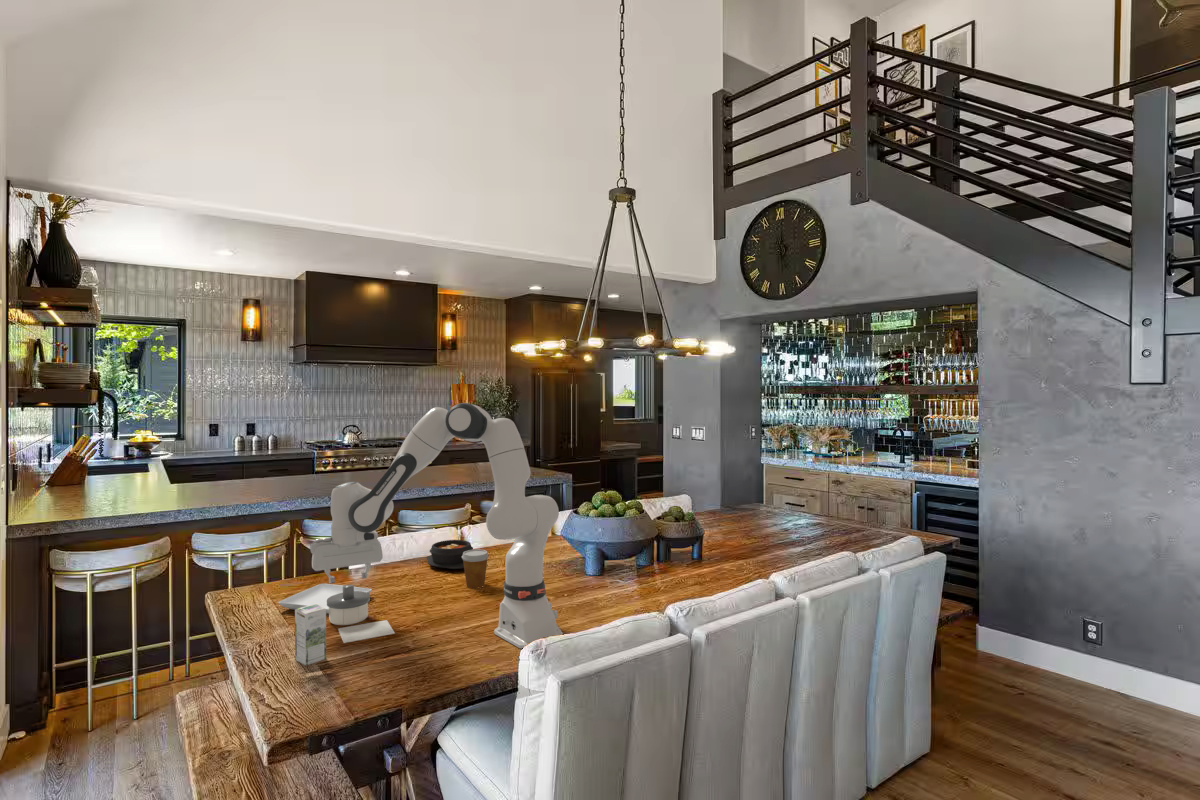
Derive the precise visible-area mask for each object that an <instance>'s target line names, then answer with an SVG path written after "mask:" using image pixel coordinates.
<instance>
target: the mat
mask: <svg viewBox="0 0 1200 800" xmlns="http://www.w3.org/2000/svg"><path fill="white" fill-rule="evenodd" d="M337 630H338V633H339V636H340V638H341V640H342V642H343V644H346V643H351V642H357V641H362V640H368V639H373V638H378V637H383V636H390V635H394V634H396V633H395V631H394V629H393V628H392V626H391V624H390V622H389V621H388V620H387V619H386V620H379V621H373V622H367V623H362V624H356V625H351V626H350V625H349V626H345V627H339V628H337Z"/></svg>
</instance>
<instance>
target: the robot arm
mask: <svg viewBox="0 0 1200 800" xmlns="http://www.w3.org/2000/svg"><path fill="white" fill-rule="evenodd" d="M453 438H457V439H462V440H463V441H465V442H473V443H481V442H482V443H483V444H484V447H485V450H486V452H487V457H488V461H489V464H490V468H491V472H492V477H493V481H494V482H493V484H494V494H493V495H494V496H493V502H492V504H491V507H490V509H489V510H488V512H487V514H486V519H485V524H486V528H487V531H488V533H489V534H490V535H491V536H492V537H493V538H494V539H496V540H500V541H501V540H507V541H508V540H514V541H513V544H512V546H511V547H510V549H509V550H507V553H506V555H505V560H504V561H505V563H504V564H505V565H504V566H505V567H504V568H505V573H504V574H505V580H504V583H503V594H504V596H503V599H502V600H501V602H500V604H499V613H498V626H497V627H496V628H494V630H493V634H495V635H496V636H497V637H499V638H501V639H503V640H504V641H506V642H508V643H509V644H511V645H514V646H515V647H516V648H518V649H522V648H523V647H524V646H525V645H527V644H528V643H530V642H532V641H534V640H536V639H540V638H543V637H547V636H552V635H559V634H564V633H563V632H562V630H561V628H560V627H559V626H558V624H557V620H556V619H558V618H559V614H558V610H553V608H552V607H553V606H552V605H553V604H552V602H550V601H549V600H548V597H547V591H546V584H545V580H544V577H543V576H544V573H543V572H544V571H543V570H544V552H545V549H546V545H547V541H548V537H549V535H550V533H551V530H552V528H553V527H554V526H555V524H556V522H557V521H558V519H559V515H560V514H559V513H560V512H559V506H558V503H557V502H556V500H555V499H554V498H553V497H552V496H549V495H544V494H543V495H542V494H534V495H529V496H526V484H527V482H528V481H529V479H530V477H531V474H532V473H531V468H530V464H529V460H528V456H527V453H526V450H525V446H524V442H523V441H522V440H523V439H522V438H521V434H520V432H519V431H518V428H517V426H516V424H515V422H514V421H513V420H512V419H510V418H506V417H499V418H495V419H494V417H493V416H492V414H491V413H490V412H489V411H488V410H486V409H483V408H482V407H481V406H478V405H475V404H471V403H469V402H462V403H457V404H455V405H452V406H451V408H449V409H446V408H444V407H439V406H435V407H432V408H431V409H430V410H428V412H426V413H425V414H424V415H423V416H422V417H421V418H420V419H419V420H417V423H416V424H414V426H413V427H412V429H411V430H410V431H409V433H408V434H407V436H406V437H405V438H404V440H403V442H402V444H401V445H400V448H399V450H398V451H397V453H396V455H395V457H394V458H393V460H392V462H391V465H390V466H389V467H388V468H387V470H386V471H385V472H384V474H383V475H382V476H381V478H380V479H379V481H377V483H375V485H374V487H373V488H368V487H365V486H364V485H362V484H361V483H360V482H357V481H348V482H343V483H340V484H338V485H336V486H335V487H334V488H333V489H332V491H331V497H330V515H331V518H332V519H331V526H330V528H331V529H330V531H331V536H330V537H325V538H318V539H315V540H314V541H312V542H311V544H310V547H309V548H310V553H311V554H312V555H311V556H312V557H311V568H312V569H313V570H314V571H315V572H319V571H324V573H325V575H326V576H327V577H328V584H334V583H336V580H335V579H336V577H335V576H334V575H331V574H330V573H331V569H340V568H345V567H346V568H347V567H353V566H360V565H364V566H365V569H364V570H363V571H361V578H362V579H367V578H368V572H369V571H370V569H371V567H372V563H373V564H374V563H379V562H382V560H383V550H382V549H383V548H382V543H381V542H380V541H379V539H378V538H379V534H378V532H377V530H378V529H379V528H380V527H381V525H382V524H383V523H384V522H386V520H388V519H389V518H390V516H392V514H393V512H394V509H395V503H394V500H393V498H394V497H395V496H396V494H397V493H398V492H399V491H400V490H401V488H402V487H403V486H404V485H405V483H406V482H407V481H408V480H410V479H411V478H412V477H413V476H414V475H416V474H418V473H419V472H421V471H422V470H424V469H425V468H426V467H427V466H429V465H430V464H431V463H432V462H433V461H434V460H435V459H436V458H437V457H438V456H439V455H440V453H441V452H442V450H444V448H445V447H446V445H447V444H448V442H450V441H451V440H452V439H453Z"/></svg>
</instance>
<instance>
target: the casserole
mask: <svg viewBox="0 0 1200 800" xmlns="http://www.w3.org/2000/svg"><path fill="white" fill-rule="evenodd" d="M468 550H474V548H473V546H472V544H471V542H470V541H468V540H464V539H463V540H461V539H447V540H441V541H437V542H435V543H433V544H432V545H431V548H430V549H429V553H430V555H428V556H427V557H426V560H427V564H429V565H430V566H432V567H436V568H440V569H445V568H447V570H448V569H450V570H458V569H459V570H460V569H464V563H463V559H462V556H463V552H465V551H468Z"/></svg>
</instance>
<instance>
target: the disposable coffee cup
mask: <svg viewBox="0 0 1200 800" xmlns="http://www.w3.org/2000/svg"><path fill="white" fill-rule="evenodd" d="M489 556H490V554H489V553H488V551H487V550H485V549H473V550H468V551H465V552H463V556H462V559H463V563H464V568H463V571H464V576H465V577H464V578H465V582H466V583H465V584H466V587H467V588H468V587H470V588H469V589H479V588H478V587H480V588H483V587H484V586H485V582H486V575H487V566H488V558H489ZM482 586H483V587H482Z"/></svg>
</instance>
